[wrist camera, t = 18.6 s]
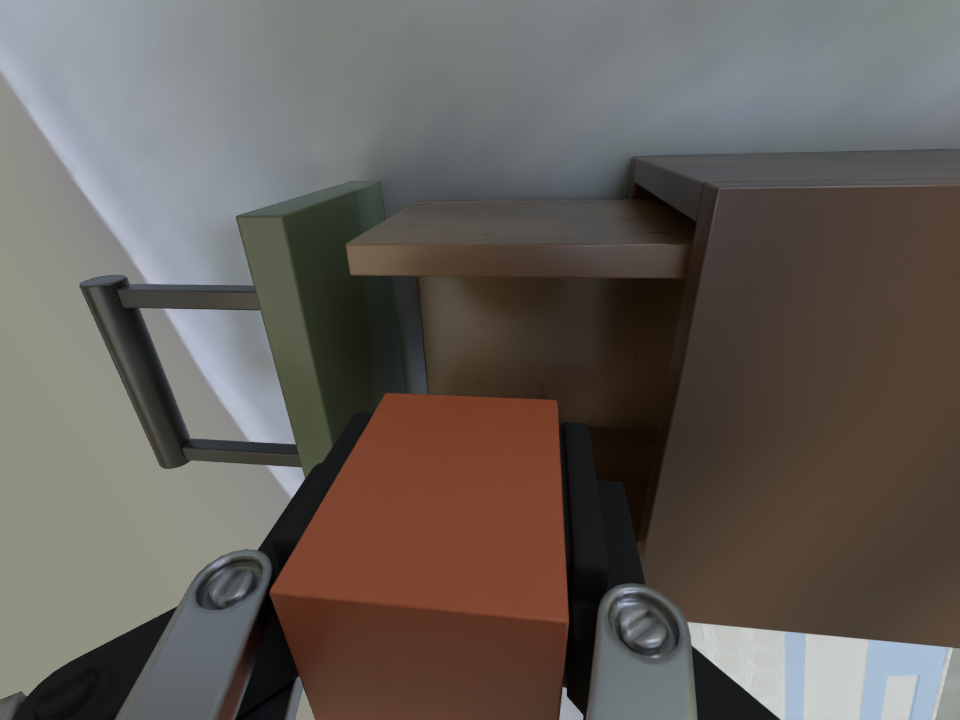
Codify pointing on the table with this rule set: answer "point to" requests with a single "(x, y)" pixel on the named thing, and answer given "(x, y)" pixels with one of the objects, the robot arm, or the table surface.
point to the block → (435, 567)
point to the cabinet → (812, 395)
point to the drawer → (435, 317)
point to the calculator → (828, 673)
